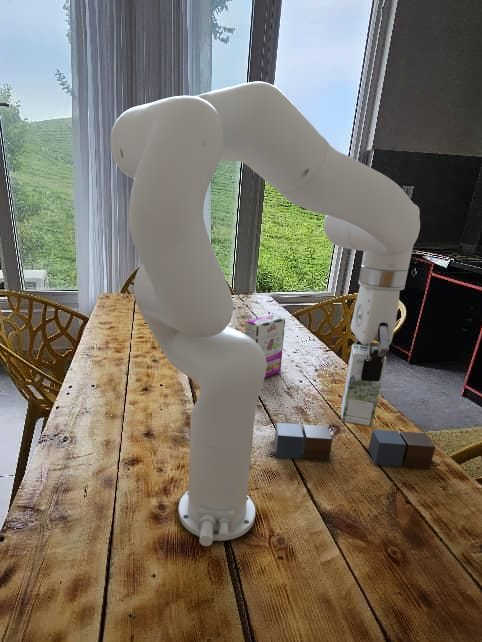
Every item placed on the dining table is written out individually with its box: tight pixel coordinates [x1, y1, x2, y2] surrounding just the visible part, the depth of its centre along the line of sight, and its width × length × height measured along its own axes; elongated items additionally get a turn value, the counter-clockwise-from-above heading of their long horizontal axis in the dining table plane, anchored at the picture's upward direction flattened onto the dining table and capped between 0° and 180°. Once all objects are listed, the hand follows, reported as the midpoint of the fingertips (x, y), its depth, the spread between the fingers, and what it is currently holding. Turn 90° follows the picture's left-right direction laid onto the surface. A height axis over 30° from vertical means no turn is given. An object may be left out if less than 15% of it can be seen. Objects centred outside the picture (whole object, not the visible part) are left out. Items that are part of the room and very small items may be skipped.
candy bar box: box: [244, 314, 286, 379], centre depth 123 cm, size 11×5×16 cm, turn 129°
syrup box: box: [340, 343, 387, 428], centre depth 84 cm, size 6×6×14 cm
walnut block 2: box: [399, 431, 436, 469], centre depth 88 cm, size 5×5×5 cm
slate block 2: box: [367, 429, 406, 467], centre depth 89 cm, size 5×5×5 cm
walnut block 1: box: [301, 424, 333, 462], centre depth 89 cm, size 5×5×5 cm
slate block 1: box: [273, 422, 304, 459], centre depth 90 cm, size 5×5×5 cm
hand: (364, 371), depth 83 cm, fingers closed on syrup box, 6 cm apart
